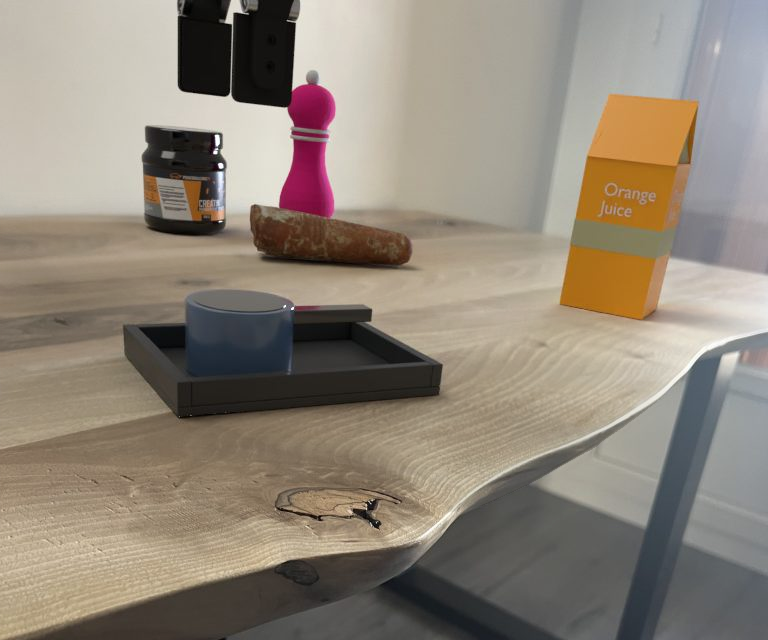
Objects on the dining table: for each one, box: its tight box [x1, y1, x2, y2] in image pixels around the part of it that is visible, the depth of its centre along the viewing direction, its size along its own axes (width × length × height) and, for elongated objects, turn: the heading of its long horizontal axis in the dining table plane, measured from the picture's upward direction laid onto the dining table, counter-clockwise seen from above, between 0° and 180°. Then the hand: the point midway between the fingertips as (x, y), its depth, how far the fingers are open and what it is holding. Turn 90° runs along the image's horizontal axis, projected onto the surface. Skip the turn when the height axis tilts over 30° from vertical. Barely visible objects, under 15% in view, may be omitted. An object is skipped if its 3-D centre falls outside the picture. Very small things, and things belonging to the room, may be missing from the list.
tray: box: [122, 322, 444, 418], centre depth 54 cm, size 18×13×2 cm
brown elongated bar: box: [249, 203, 414, 266], centre depth 94 cm, size 6×19×6 cm, turn 96°
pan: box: [184, 288, 373, 377], centre depth 54 cm, size 13×7×4 cm, turn 119°
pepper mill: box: [278, 69, 337, 219], centre depth 104 cm, size 7×7×20 cm
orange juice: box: [558, 93, 700, 321], centre depth 83 cm, size 8×9×20 cm
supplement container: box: [141, 124, 228, 236], centre depth 104 cm, size 10×10×12 cm
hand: (230, 99), depth 47 cm, fingers open, 9 cm apart
